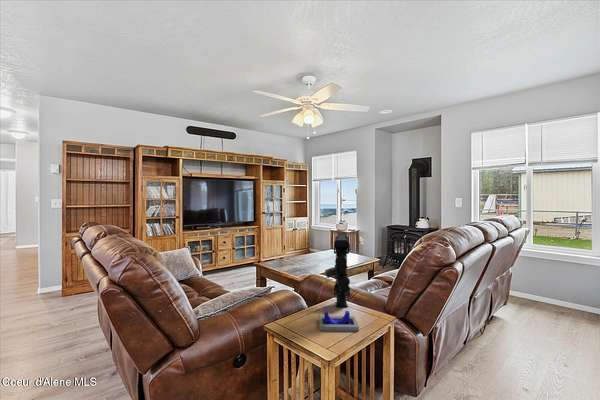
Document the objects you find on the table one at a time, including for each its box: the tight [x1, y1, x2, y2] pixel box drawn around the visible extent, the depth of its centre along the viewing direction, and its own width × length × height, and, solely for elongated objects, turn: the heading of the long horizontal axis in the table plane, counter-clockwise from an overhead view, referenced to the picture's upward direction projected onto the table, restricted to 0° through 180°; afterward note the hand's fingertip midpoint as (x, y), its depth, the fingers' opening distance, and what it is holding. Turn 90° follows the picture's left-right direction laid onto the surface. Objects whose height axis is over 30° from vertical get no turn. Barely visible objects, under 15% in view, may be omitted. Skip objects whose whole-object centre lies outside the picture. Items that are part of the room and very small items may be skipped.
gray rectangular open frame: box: [318, 315, 360, 332], centre depth 142 cm, size 12×18×2 cm, turn 89°
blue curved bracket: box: [323, 310, 350, 325], centre depth 143 cm, size 12×4×6 cm, turn 89°
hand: (341, 292), depth 154 cm, fingers open, 9 cm apart
